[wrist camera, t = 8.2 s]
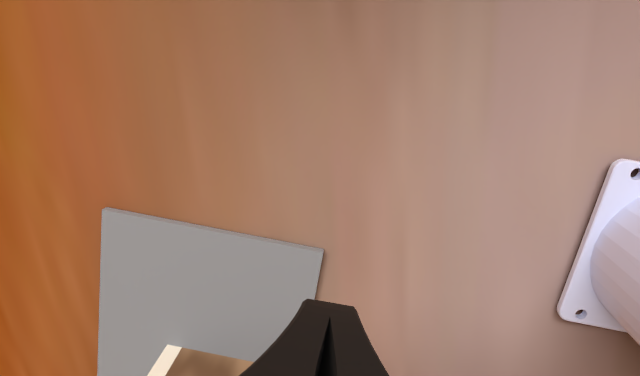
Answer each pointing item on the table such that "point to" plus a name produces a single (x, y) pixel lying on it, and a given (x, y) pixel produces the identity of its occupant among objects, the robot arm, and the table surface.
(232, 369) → the brown and cream block
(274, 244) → the mat
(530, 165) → the table surface
